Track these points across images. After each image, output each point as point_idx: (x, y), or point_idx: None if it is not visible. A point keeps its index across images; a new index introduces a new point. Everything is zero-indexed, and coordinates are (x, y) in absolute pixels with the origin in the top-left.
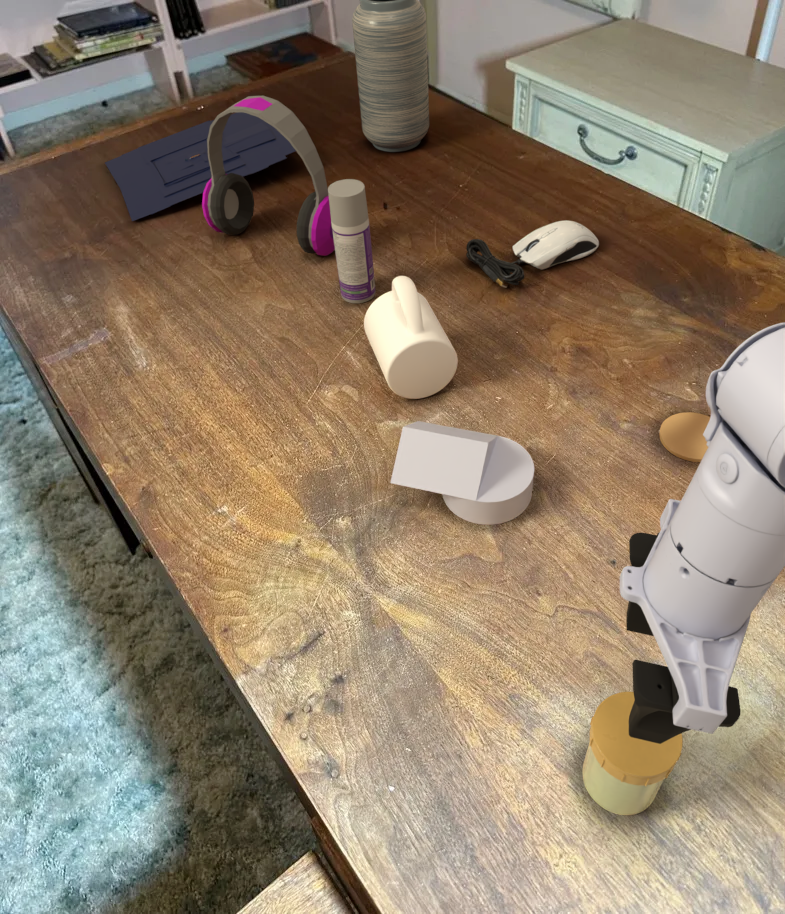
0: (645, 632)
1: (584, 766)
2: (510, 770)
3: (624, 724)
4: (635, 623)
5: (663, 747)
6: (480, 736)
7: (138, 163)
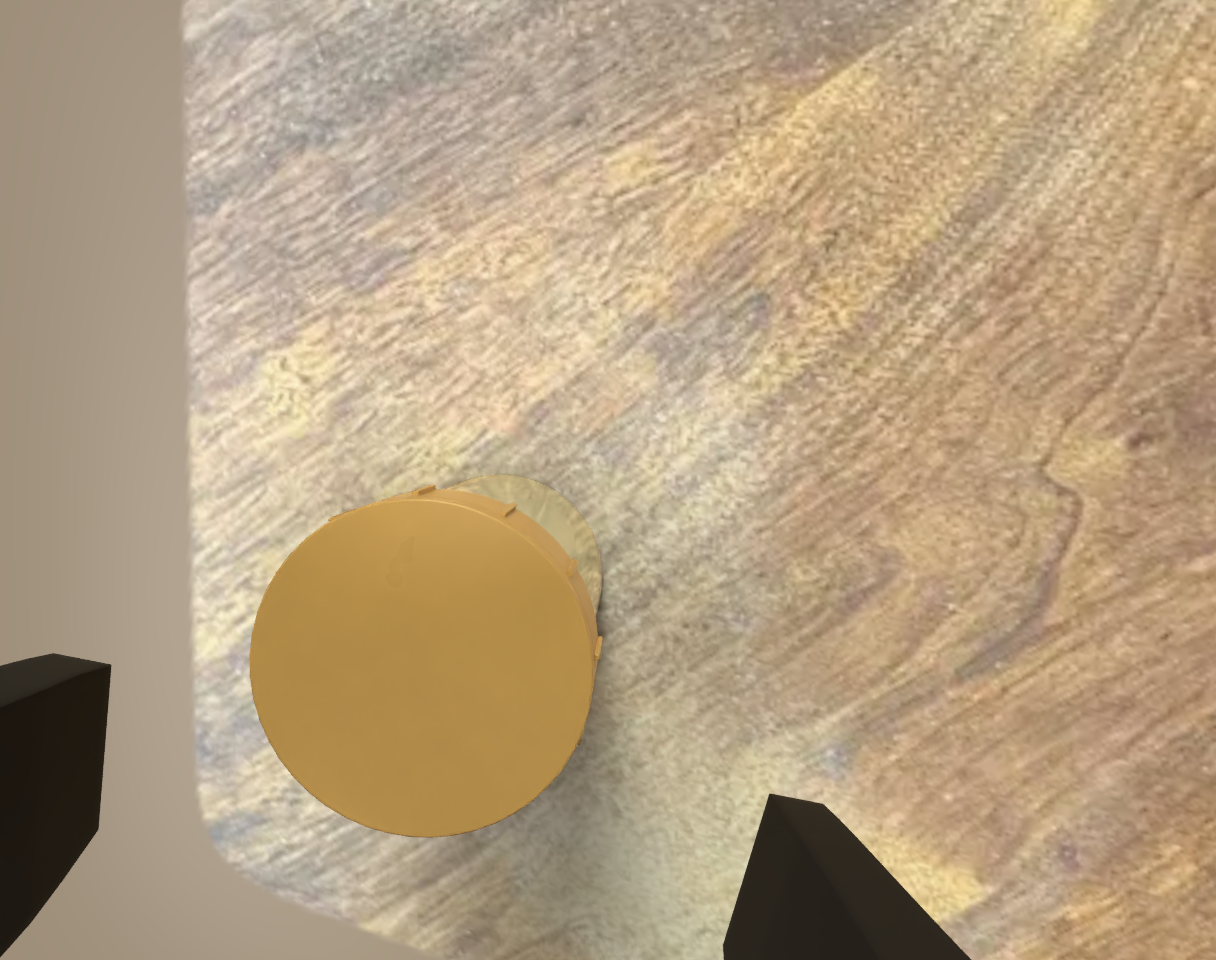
0: (745, 899)
1: (504, 479)
2: (531, 271)
3: (453, 630)
4: (781, 879)
5: (355, 755)
6: (636, 190)
7: None
